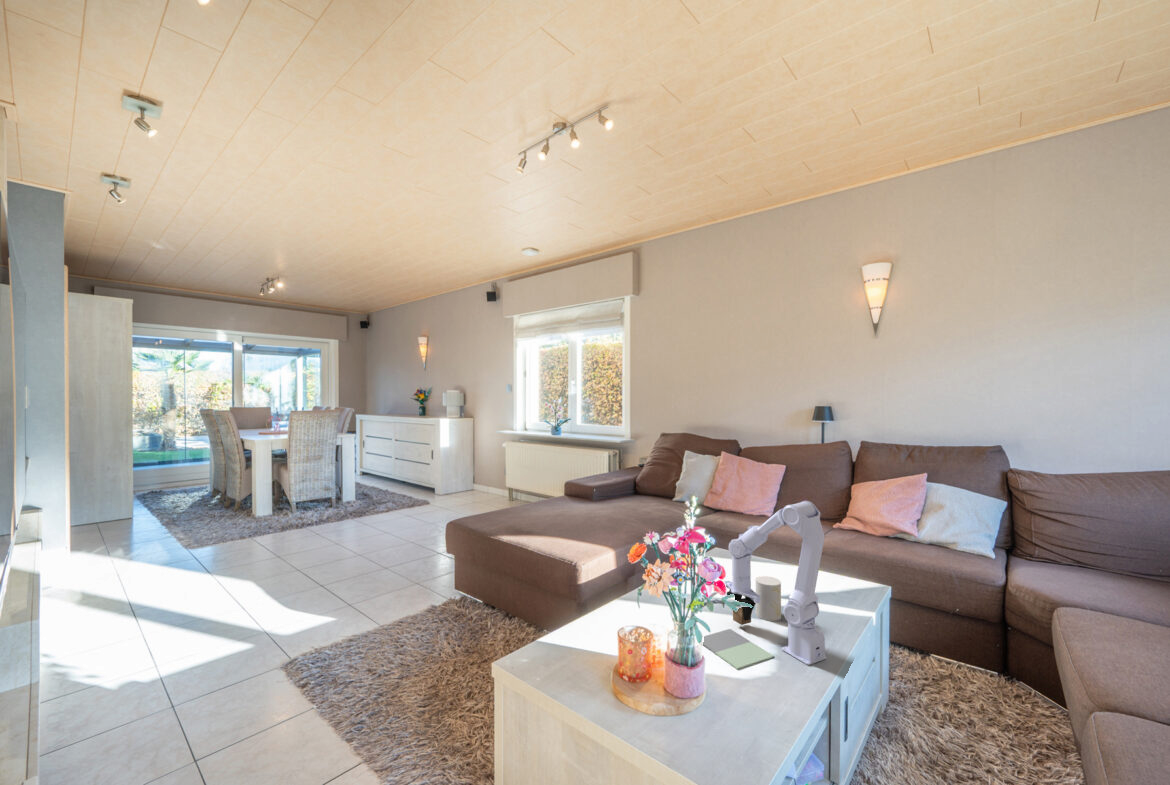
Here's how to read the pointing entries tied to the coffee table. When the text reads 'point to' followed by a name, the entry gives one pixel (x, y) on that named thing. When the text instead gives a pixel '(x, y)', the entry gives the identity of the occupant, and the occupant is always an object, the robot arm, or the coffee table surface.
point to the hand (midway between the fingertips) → (741, 616)
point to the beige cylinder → (768, 598)
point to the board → (735, 649)
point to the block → (740, 616)
